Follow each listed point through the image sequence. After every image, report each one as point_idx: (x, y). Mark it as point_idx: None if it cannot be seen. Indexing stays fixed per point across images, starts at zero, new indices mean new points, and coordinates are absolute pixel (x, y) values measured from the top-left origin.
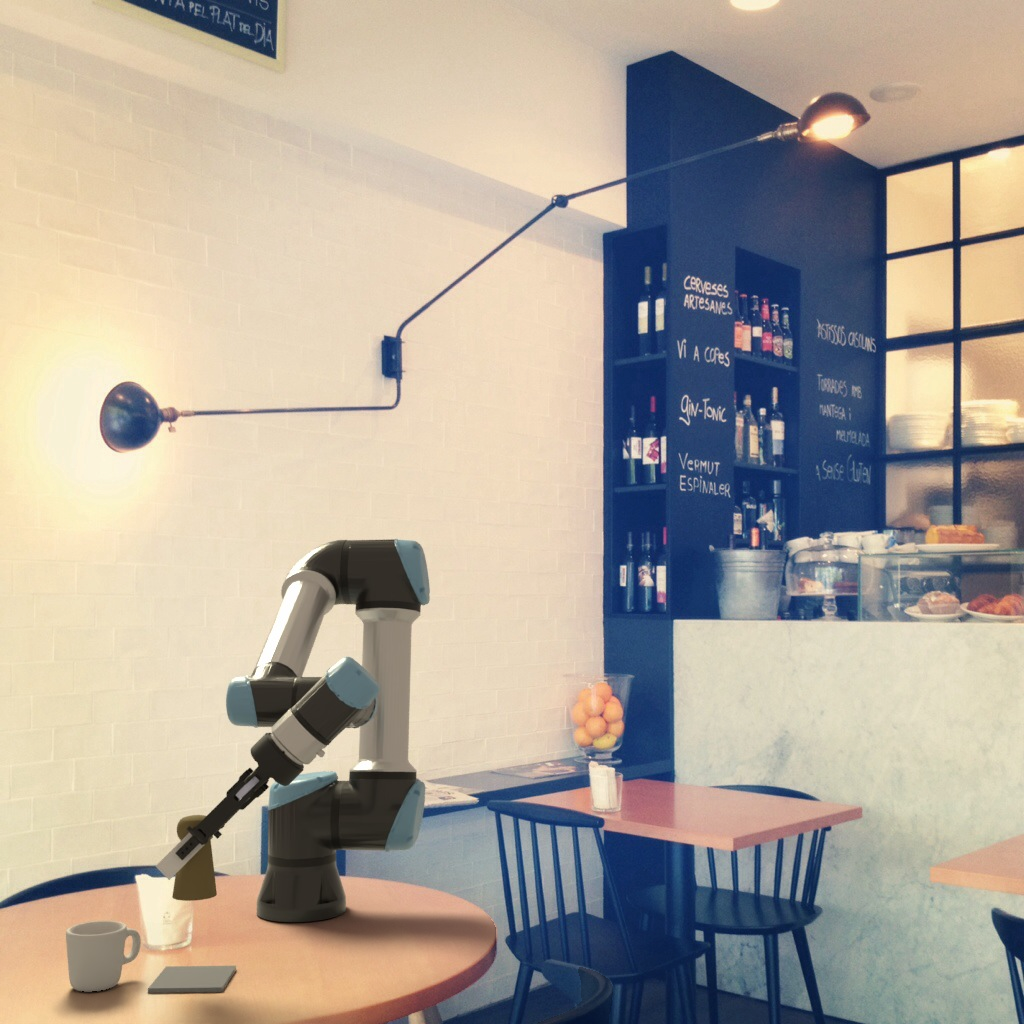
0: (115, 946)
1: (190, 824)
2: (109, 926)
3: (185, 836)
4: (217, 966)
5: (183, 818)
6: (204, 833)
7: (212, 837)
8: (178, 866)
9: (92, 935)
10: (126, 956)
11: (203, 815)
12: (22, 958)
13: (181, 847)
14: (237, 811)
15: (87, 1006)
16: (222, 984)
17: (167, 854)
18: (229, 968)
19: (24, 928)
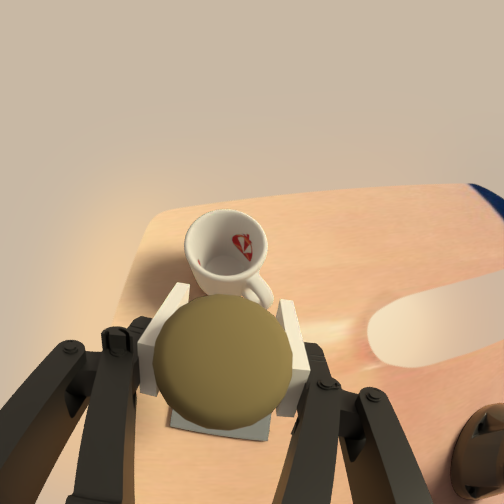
0: (198, 277)
1: (157, 339)
2: (257, 258)
3: (144, 332)
4: (267, 417)
5: (208, 307)
6: (68, 385)
7: (282, 415)
8: None
9: (185, 241)
10: (253, 297)
11: (235, 385)
12: (338, 199)
13: (127, 328)
14: (352, 498)
15: (155, 276)
16: (181, 426)
17: (166, 298)
18: (255, 433)
19: (424, 195)
